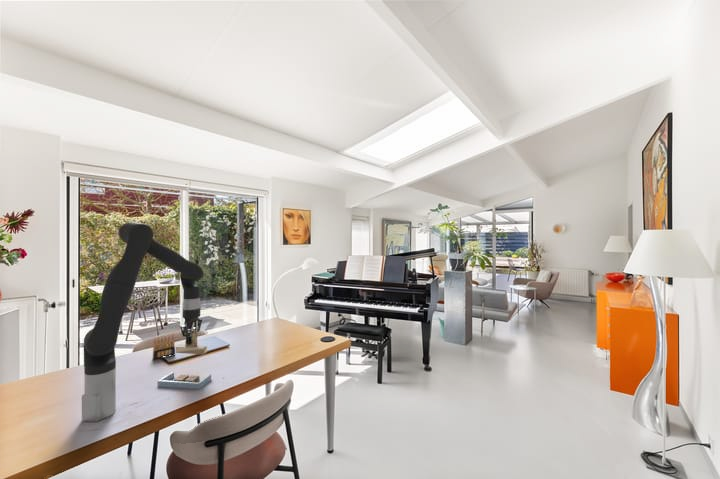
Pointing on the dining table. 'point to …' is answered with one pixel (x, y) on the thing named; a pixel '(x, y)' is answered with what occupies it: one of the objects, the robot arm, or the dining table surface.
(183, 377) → the block
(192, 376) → the block
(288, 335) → the dining table surface
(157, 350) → the ammunition clip
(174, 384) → the tray
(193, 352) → the wooden base with post
